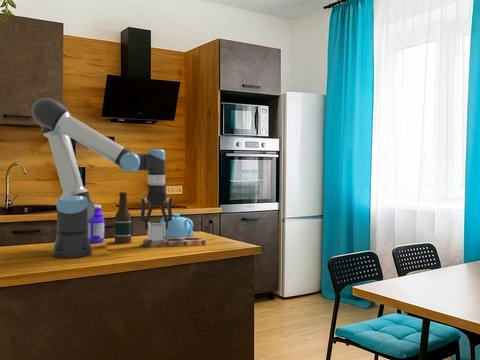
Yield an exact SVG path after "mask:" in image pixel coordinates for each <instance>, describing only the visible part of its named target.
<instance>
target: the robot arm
mask: <svg viewBox="0 0 480 360" xmlns="http://www.w3.org/2000/svg"><path fill="white" fill-rule="evenodd" d="M31 115H32V117H33V120H34V121H35V122H36V123H37V124H38V125H40V128H41V131H42V135H43V136H44V137H46V138H47V139H48V142H49V146H50V147H49V148H50V149H51V153H52V157H53V161H54V164H55V168H56V171H57V175H58V179H59V182H60V186H61V189H62V195H61V196H60V197H59V198H58V199H57V202H56V238H55V242H54V244H53V248H52V251H51V252H52V254H51V255H52V257H54V258H61V259H63V258H64V259H71V258H72V259H73V258H84V257H89V256H91V255H93V247H92V244H91V242H90V241H89V238H88V221H90V220H91V219H92V217H93V215H94V212H95V206H94V205H95V204H94V202H93V201H92V199H91V196H90V191H89V190H88V189H86V188H85V187H84V185H83V180H82V178H81V177H82V176H81V173H80V169H79V166H78V163H77V158H76V156H75V151H74V149H73V143H72V140H71V139H73V140H74V141H75V142H78V143H79V144H82V146H84V147H86V148H88V149H90V150H91V151H93V152H95V153H97V154H98V155H99V156H102V157H103V158H105V159H106V160H109V161H110V162H112V163H114V164H115V165H117V166H118V167H119V169H120V171H126V172H129V173H130V172H139V171H141V172H146V171H147V184H148V185H147V196H146V197H143V198H142V197H141V198H140V202H141V203H140V204H141V210H140V221H142V223H143V222H144V230H145V231H147V232H146V237H147V238H148V239H150V224H151V222H149V220H150V218H151V214H152V212H153V209H154V207H156V206H159V208H160V210H161V211H160V212H161V215H162V218H164V220H163V237H165V229H168V221H170V220H172V217H173V213H172V212H173V211H172V201H173V199H172V198H171V197H167V196H166V185H165V184H166V162H167V161H166V151H165V150H164V149H158V148H157V149H156V148H155V149H154V148H153V149H152V148H151V149H150V148H149V149H148V151H147V153H134V152H133V151H131V150H129V149H128V148H125V147H124V146H122V145H121V144H119V143H118V142H115V141H114V140H112V139H111V138H109V137H107V136H105V135H104V134H102V133H100V132H99V131H97V130H95V129H93V128H92V127H90V126H89V125H87V124H86V123H83V122H82V121H80V120H78V119H77V118H75V117H73V116H72V115H71V114H70V112H69V110H68V108H67V107H66V105H64V104H63V103H61V102H59V101H57V100H55V99H53V98H49V97H45V98H44V97H43V98H41V99H38V100H37V101H35V103H34V104H33V105H32V109H31ZM147 201H148V202H149V205H148V208H147V213H146V212H145V211H146V203H147ZM165 201H166V205H167V213H166V209H165V206H164V203H165Z"/></svg>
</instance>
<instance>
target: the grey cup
mask: <svg viewBox="0 0 480 360" xmlns="http://www.w3.org/2000/svg"><path fill="white" fill-rule="evenodd" d="M149 239H150V242H163V239H164V238H163V225H162V224H161V223H160V222H150V238H149Z"/></svg>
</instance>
